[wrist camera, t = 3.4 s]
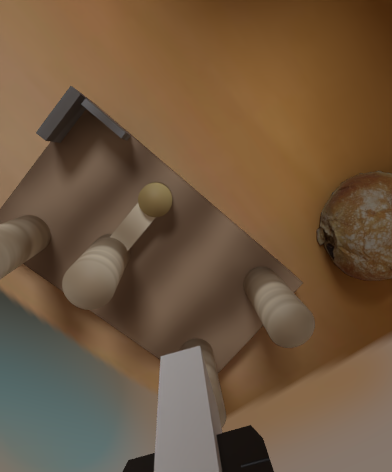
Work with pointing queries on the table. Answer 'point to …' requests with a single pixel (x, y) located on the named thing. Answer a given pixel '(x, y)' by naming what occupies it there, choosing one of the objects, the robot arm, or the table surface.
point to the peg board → (147, 245)
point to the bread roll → (360, 226)
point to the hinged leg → (113, 252)
